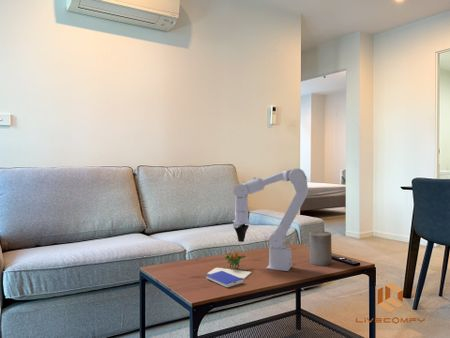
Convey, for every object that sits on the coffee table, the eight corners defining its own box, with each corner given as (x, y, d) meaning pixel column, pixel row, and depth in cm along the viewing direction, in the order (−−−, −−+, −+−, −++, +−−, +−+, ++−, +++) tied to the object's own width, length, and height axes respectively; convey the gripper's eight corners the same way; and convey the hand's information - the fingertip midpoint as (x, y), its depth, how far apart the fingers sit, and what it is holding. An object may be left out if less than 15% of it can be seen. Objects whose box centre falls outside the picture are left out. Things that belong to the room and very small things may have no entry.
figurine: (222, 269, 152) (223, 249, 153) (243, 266, 160) (244, 248, 161) (226, 270, 150) (227, 250, 151) (248, 268, 157) (249, 249, 158)
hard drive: (206, 274, 141) (226, 283, 131) (222, 270, 146) (243, 278, 136) (206, 278, 141) (226, 287, 131) (222, 274, 146) (243, 282, 136)
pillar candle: (327, 260, 170) (327, 228, 170) (334, 265, 160) (334, 231, 160) (307, 260, 170) (306, 228, 169) (312, 266, 160) (312, 232, 160)
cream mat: (251, 272, 150) (251, 271, 150) (244, 279, 141) (244, 278, 141) (216, 268, 156) (216, 267, 156) (207, 274, 147) (207, 273, 147)
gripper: (238, 208, 169) (238, 237, 170) (226, 212, 156) (226, 244, 156) (252, 209, 167) (252, 239, 167) (242, 213, 153) (242, 245, 153)
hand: (241, 241), depth 161 cm, fingers closed
